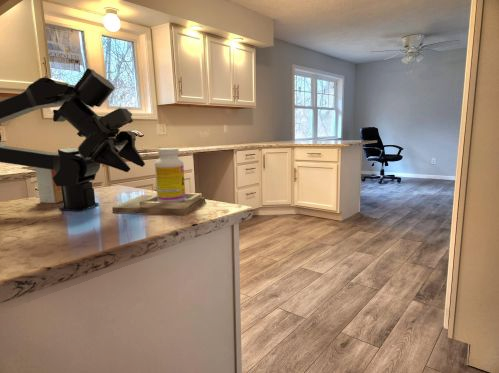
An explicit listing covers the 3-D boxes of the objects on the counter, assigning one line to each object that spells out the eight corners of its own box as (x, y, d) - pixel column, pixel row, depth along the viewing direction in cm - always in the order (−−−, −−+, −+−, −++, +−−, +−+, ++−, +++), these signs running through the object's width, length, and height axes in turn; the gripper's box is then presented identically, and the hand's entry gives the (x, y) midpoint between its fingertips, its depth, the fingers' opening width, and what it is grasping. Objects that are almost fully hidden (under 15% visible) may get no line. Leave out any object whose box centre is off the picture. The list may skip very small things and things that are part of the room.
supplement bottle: (187, 203, 75) (184, 148, 73) (158, 206, 73) (154, 150, 71) (183, 197, 81) (180, 147, 79) (156, 199, 79) (152, 148, 77)
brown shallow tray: (112, 212, 74) (111, 202, 73) (142, 199, 86) (141, 190, 86) (184, 215, 70) (184, 205, 70) (205, 201, 82) (204, 192, 82)
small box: (55, 203, 83) (49, 163, 81) (39, 202, 85) (33, 163, 83) (80, 197, 91) (75, 160, 89) (65, 196, 92) (60, 160, 90)
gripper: (86, 92, 64) (144, 146, 66) (125, 99, 82) (169, 141, 84) (53, 132, 66) (110, 184, 67) (98, 130, 84) (142, 171, 86)
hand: (136, 168), depth 76 cm, fingers open, 9 cm apart
